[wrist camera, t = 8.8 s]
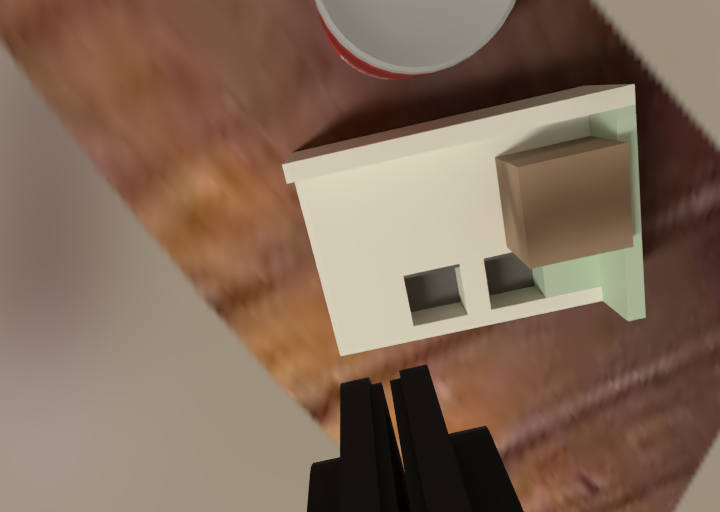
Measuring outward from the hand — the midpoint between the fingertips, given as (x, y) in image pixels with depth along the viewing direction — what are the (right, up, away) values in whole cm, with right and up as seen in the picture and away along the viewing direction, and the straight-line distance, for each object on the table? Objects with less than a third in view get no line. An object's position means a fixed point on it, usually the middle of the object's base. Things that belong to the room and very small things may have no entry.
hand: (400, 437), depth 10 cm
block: (+10, +7, +20) cm, 24 cm away
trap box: (+5, +6, +23) cm, 24 cm away
